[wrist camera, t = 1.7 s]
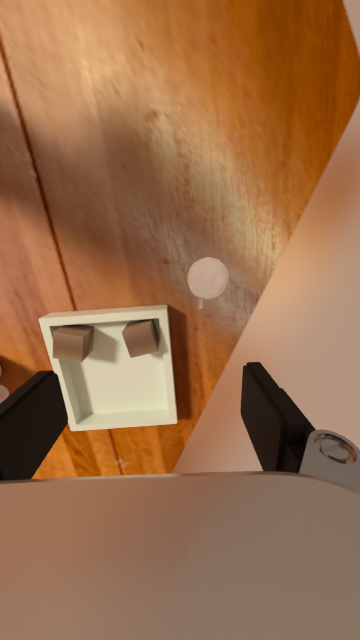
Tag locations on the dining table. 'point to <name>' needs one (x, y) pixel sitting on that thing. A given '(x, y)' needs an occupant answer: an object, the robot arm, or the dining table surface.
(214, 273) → the milkshake
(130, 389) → the tray
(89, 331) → the walnut block
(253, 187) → the dining table surface
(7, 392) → the cup
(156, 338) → the walnut block
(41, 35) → the dining table surface
